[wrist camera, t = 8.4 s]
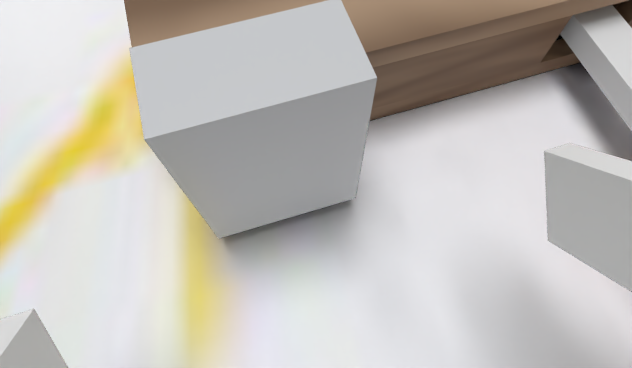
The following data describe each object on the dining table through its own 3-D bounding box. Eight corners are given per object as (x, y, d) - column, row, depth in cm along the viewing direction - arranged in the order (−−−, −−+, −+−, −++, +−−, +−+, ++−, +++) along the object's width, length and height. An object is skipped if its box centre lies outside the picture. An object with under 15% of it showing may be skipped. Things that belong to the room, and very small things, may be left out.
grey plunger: (355, 197, 18) (377, 77, 11) (218, 238, 17) (144, 139, 10) (279, -3, 23) (258, -177, 16) (170, 23, 23) (97, -146, 15)
